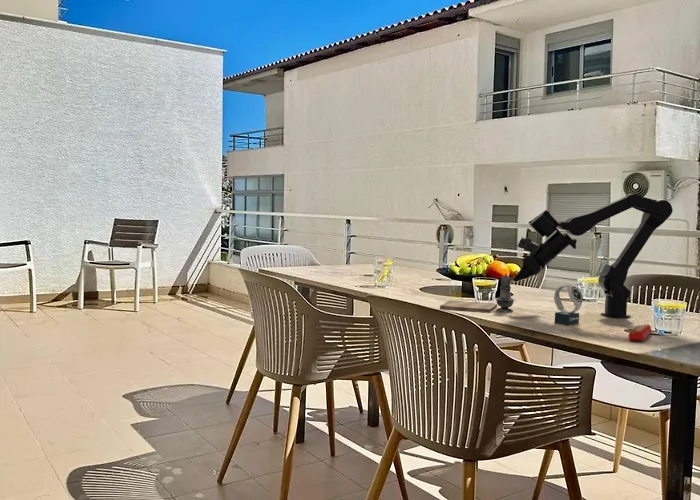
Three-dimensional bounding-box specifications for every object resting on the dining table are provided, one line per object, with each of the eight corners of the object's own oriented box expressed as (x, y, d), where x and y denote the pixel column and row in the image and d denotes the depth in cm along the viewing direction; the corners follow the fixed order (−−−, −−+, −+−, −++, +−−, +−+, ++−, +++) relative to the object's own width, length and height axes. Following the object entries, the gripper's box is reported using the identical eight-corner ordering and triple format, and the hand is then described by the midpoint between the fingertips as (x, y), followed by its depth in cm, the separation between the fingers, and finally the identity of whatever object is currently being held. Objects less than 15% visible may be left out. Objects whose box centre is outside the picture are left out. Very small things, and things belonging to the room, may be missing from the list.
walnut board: (497, 306, 221) (497, 303, 221) (490, 312, 208) (490, 309, 208) (449, 303, 227) (449, 300, 227) (440, 308, 214) (440, 305, 214)
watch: (574, 326, 186) (575, 287, 185) (549, 322, 192) (550, 284, 191) (585, 324, 189) (586, 286, 189) (560, 320, 196) (561, 283, 195)
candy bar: (637, 333, 179) (638, 322, 179) (652, 334, 177) (652, 323, 177) (626, 342, 166) (627, 330, 166) (642, 344, 164) (643, 332, 164)
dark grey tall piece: (514, 312, 210) (515, 274, 209) (495, 311, 211) (496, 273, 210) (513, 309, 216) (515, 272, 215) (495, 308, 217) (496, 272, 216)
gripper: (537, 228, 217) (501, 260, 222) (530, 229, 200) (492, 263, 205) (561, 253, 215) (524, 285, 220) (556, 256, 198) (517, 290, 202)
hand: (514, 280), depth 212 cm, fingers closed
